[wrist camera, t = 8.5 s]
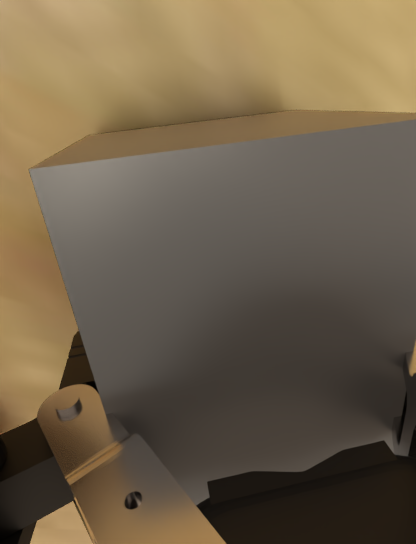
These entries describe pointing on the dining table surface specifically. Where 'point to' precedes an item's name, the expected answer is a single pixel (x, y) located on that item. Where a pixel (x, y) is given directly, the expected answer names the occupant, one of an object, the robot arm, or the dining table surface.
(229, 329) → the gray rectangular prism
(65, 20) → the dining table surface
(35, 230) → the dining table surface
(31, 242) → the dining table surface
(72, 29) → the dining table surface
